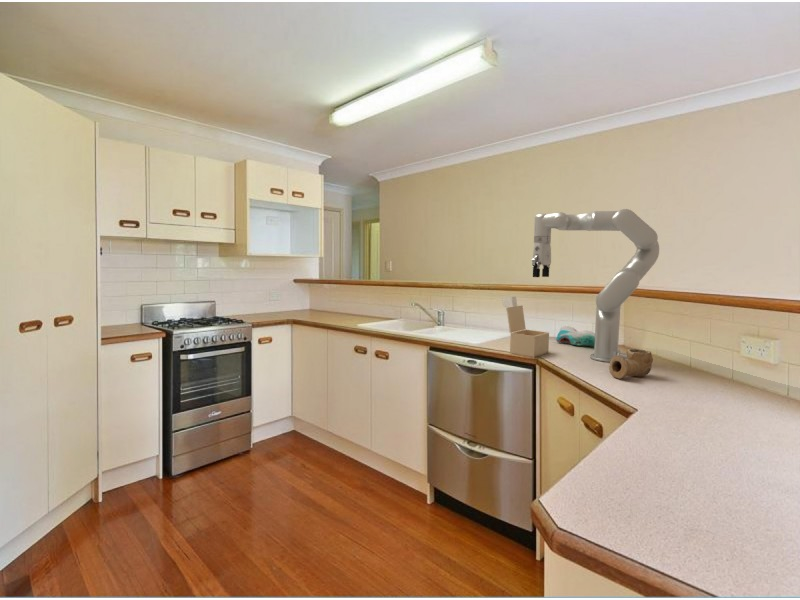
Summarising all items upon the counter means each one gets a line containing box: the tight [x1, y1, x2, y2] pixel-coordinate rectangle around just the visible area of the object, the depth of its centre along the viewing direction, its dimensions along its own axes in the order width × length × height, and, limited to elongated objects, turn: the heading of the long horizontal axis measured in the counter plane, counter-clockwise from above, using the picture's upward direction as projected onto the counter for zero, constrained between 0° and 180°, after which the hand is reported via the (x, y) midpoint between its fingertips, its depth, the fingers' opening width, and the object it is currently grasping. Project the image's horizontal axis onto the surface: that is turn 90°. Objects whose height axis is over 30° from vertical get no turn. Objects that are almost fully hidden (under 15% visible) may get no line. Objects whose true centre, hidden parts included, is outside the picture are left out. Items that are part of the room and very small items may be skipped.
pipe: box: [608, 348, 654, 380], centre depth 155 cm, size 9×16×10 cm, turn 111°
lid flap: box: [501, 296, 527, 334], centre depth 201 cm, size 17×15×6 cm
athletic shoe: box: [555, 325, 595, 348], centre depth 213 cm, size 26×9×12 cm
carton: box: [509, 329, 550, 358], centre depth 195 cm, size 12×15×10 cm
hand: (540, 276), depth 194 cm, fingers open, 9 cm apart
